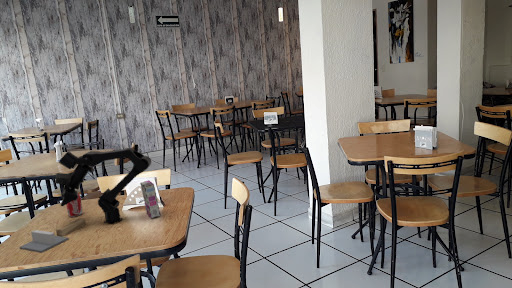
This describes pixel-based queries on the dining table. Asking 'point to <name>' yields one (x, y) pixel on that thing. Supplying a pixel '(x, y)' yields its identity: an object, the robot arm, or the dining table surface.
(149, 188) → the candy bar box
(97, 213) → the dining table surface
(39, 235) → the fulcrum stand
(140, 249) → the dining table surface
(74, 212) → the soda can
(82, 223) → the oak batten
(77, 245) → the dining table surface
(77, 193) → the robot arm
